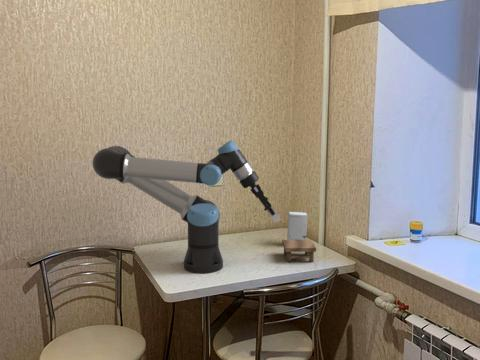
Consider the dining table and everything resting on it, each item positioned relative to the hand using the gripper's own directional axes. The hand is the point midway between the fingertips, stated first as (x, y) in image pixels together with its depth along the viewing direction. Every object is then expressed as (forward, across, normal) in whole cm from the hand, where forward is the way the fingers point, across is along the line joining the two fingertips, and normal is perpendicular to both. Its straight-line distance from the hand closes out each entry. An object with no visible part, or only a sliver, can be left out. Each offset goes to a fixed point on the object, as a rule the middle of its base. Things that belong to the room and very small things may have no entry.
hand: (275, 217), depth 179 cm
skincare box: (+20, +14, 0) cm, 24 cm away
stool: (+18, -4, +2) cm, 19 cm away
